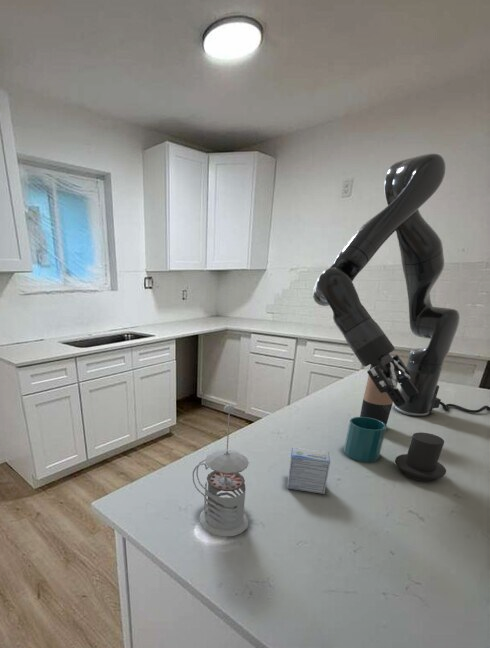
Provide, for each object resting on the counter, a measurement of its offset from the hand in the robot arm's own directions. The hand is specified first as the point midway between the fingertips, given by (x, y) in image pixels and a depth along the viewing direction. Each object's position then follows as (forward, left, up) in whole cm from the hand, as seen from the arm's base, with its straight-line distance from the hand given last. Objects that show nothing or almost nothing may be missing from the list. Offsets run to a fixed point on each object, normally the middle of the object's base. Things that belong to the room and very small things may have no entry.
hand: (408, 399), depth 84 cm
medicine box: (+26, +7, -17) cm, 32 cm away
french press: (+48, +15, -17) cm, 53 cm away
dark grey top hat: (-3, +5, -17) cm, 18 cm away
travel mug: (-8, -20, -17) cm, 28 cm away
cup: (+5, -5, -17) cm, 19 cm away
